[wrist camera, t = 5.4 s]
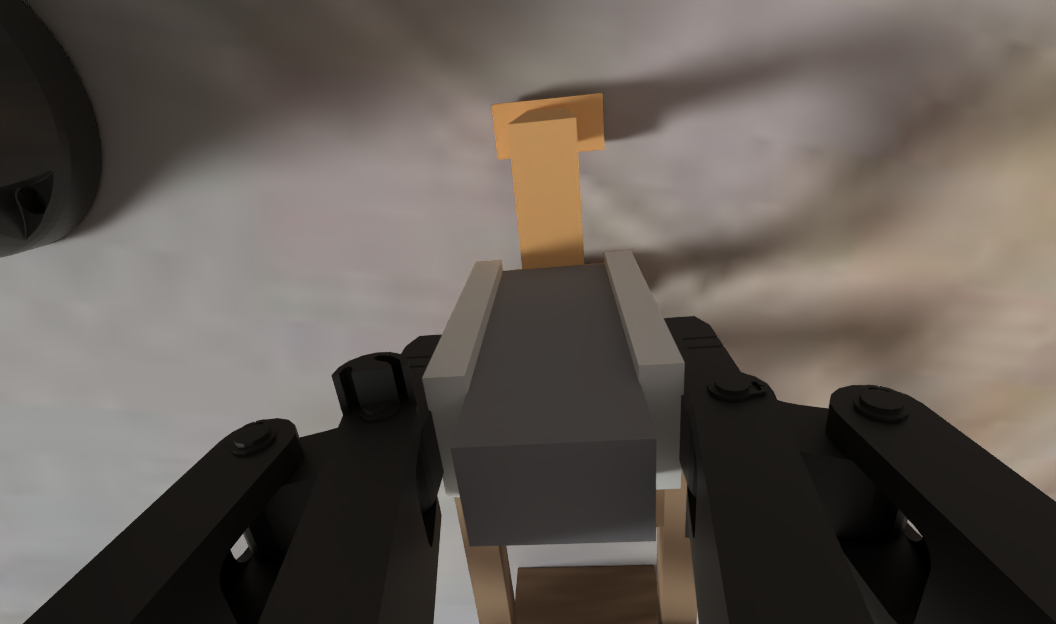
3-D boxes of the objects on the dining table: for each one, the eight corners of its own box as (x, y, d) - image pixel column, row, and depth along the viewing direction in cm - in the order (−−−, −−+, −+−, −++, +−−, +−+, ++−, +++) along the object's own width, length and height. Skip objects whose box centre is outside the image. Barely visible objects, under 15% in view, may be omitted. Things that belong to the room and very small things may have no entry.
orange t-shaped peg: (495, 104, 24) (304, 143, 6) (599, 93, 24) (753, 97, 5) (518, 310, 28) (451, 707, 10) (607, 303, 28) (707, 707, 10)
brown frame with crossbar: (486, 349, 30) (450, 477, 20) (654, 339, 29) (704, 467, 19) (519, 582, 38) (506, 757, 28) (653, 579, 37) (688, 759, 27)
